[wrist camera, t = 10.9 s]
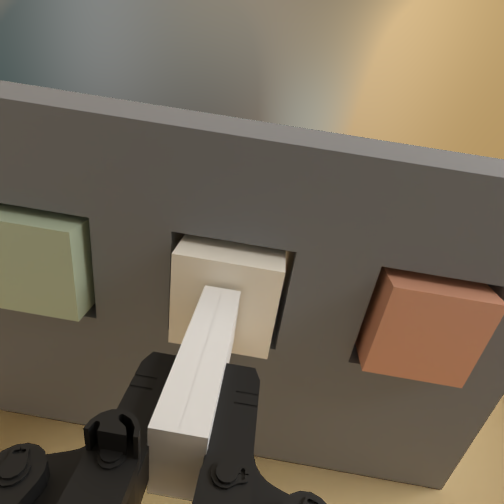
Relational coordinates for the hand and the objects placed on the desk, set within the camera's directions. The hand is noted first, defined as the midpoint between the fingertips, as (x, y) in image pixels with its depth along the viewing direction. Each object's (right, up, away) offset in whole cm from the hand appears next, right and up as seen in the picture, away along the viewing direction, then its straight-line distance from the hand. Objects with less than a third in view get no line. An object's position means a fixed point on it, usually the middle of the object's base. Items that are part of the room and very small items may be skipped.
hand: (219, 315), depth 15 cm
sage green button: (-9, +1, +4) cm, 10 cm away
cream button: (0, -1, +4) cm, 4 cm away
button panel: (-1, -8, +8) cm, 11 cm away
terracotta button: (+9, -2, +4) cm, 10 cm away
